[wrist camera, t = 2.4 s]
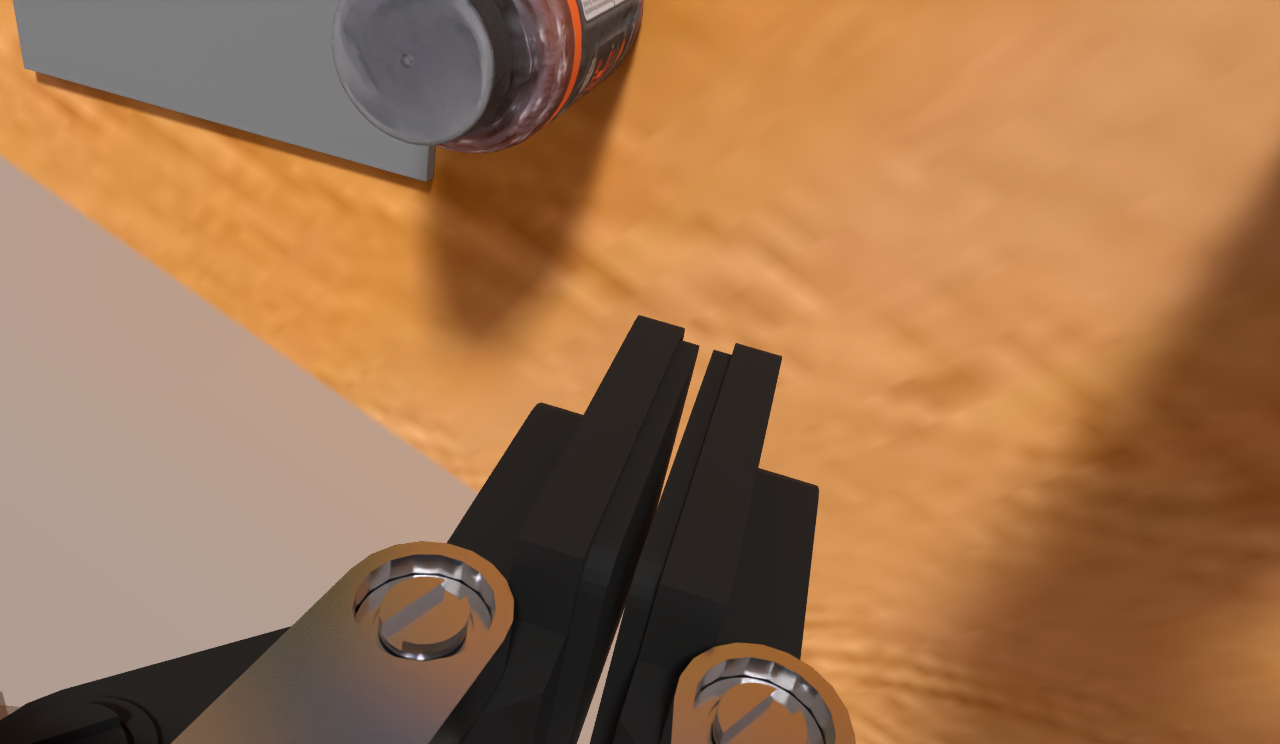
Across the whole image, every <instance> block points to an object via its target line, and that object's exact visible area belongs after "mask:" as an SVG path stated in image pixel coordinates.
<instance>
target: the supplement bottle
mask: <svg viewBox="0 0 1280 744" xmlns="http://www.w3.org/2000/svg"><path fill="white" fill-rule="evenodd" d="M642 13H643V0H340V2H339V5H338V7H337V9H336V12H335V15H334V19H333V28H332V42H331V44H332V52H333V59H334V63H335V67H336V71H337V74H338V77H339V80H340V82H341V84H342V86H343V88H344V90H345V92H346V93H347V95H348V97H349V99H350V100H351V102H352V103H353V104H354V105H355V107H356V108H357V110H358V111H359V112H360V113H361V114H362V115H363V116H364V117H365V118H366V119H367V120H368V121H369V122H370V123H371V124H373V125H374V126H375V127H376V128H377V129H379V130H380V131H382V132H384V133H385V134H387V135H389V136H391V137H392V138H395V139H398V140H400V141H402V142H405V143H408V144H414V145H425V146H431V145H436V146H439V147H442V148H445V149H447V150H452V151H458V152H463V153H488V152H495V151H499V150H502V149H505V148H509V147H511V146H514V145H516V144H518V143H520V142H522V141H525V140H526V139H528V138H529V137H531V136H532V135H534V134H535V133H536V132H538V131H539V130H541V129H542V128H543V127H544V126H546V125H547V124H548V123H550V122H551V121H553V120H554V119H555V118H556V117H557V116H559V115H560V114H561V113H563V112H564V111H565V110H566V109H568V108H569V107H570V106H571V105H572V104H573V103H574V102H576V101H577V100H578V99H579V98H581V97H582V96H584V95H585V94H586V93H588V92H589V91H590V90H591V89H592V88H594V87H595V86H596V85H598V84H599V83H600V82H602V81H604V80H605V79H606V78H607V77H608V76H609V75H610V74H611V73H612V72H613V71H614V70H615V69H616V68H617V67H618V66H619V64H620V63H621V61H622V60H623V59H624V58H625V56H626V55H627V53H628V52H629V50H630V48H631V46H632V44H633V42H634V40H635V38H636V35H637V33H638V30H639V26H640V22H641V17H642Z"/></svg>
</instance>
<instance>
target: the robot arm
mask: <svg viewBox="0 0 1280 744" xmlns="http://www.w3.org/2000/svg"><path fill="white" fill-rule="evenodd" d="M684 332H685V328H682V327H679V326H675V325H672V324H668V323H665V322H661V321H658V320H654V319H651V318H647V317H644V316H640V315H638V317H637V318H636V320H635V322H634V324H633V325H632V327H631V329H630V331H629V333H628V335H627V336H626V338H625V340H624V342H623V344H622V346H621V347H620V349H619V351H618V353H617V355H616V357H615V358H614V360H613V362H612V364H611V366H610V368H609V369H608V371H607V373H606V375H605V377H604V379H603V380H602V382H601V384H600V386H599V388H598V390H597V391H596V393H595V395H594V397H593V399H592V401H591V402H590V404H589V406H588V408H587V410H586V412H585V413H584V415H581V414H578V413H575V412H571V411H568V410H565V409H561V408H558V407H555V406H551V405H548V404H545V403H539V404H537V405H536V406H535V407H534V409H533V410H532V411H531V413H530V414H529V416H528V417H527V419H526V420H525V422H524V423H523V425H522V427H521V428H520V430H519V431H518V433H517V434H516V436H515V438H514V439H513V441H512V442H511V444H510V445H509V447H508V448H507V450H506V452H505V453H504V455H503V456H502V458H501V459H500V461H499V462H498V464H497V466H496V467H495V469H494V470H493V472H492V473H491V475H490V476H489V478H488V480H487V481H486V483H485V484H484V486H483V487H482V489H481V490H480V492H479V494H478V495H477V497H476V498H475V500H474V501H473V503H472V505H471V506H470V508H469V509H468V511H467V512H466V514H465V516H464V517H463V519H462V520H461V522H460V524H459V525H458V527H457V528H456V529H455V531H454V533H453V534H452V536H451V537H450V539H449V540H448V542H447V543H437V542H424V541H421V542H413V543H406V544H398V545H394V546H391V547H389V548H386V549H384V550H381V551H378V552H376V553H373V554H371V555H369V556H368V557H367V558H365V559H364V560H362V561H361V562H360V563H358V564H357V565H356V566H354V567H353V568H351V569H350V570H349V571H348V572H347V573H346V574H345V575H344V576H343V577H342V578H341V579H340V580H339V581H338V582H337V583H336V584H335V585H334V586H333V587H332V588H331V589H330V590H329V591H328V592H327V593H326V594H325V595H323V597H321V598H320V599H319V600H318V601H317V602H316V603H315V604H314V605H313V606H312V607H311V608H310V609H309V610H308V611H307V612H306V613H305V614H304V615H303V616H302V617H301V618H300V619H299V620H298V621H297V622H296V623H295V624H294V625H292V626H291V627H287V628H284V629H280V630H276V631H273V632H269V633H265V634H262V635H258V636H255V637H251V638H248V639H244V640H240V641H237V642H233V643H229V644H226V645H222V646H219V647H215V648H211V649H208V650H205V651H200V652H197V653H193V654H190V655H186V656H182V657H179V658H176V659H172V660H168V661H164V662H161V663H158V664H154V665H150V666H146V667H143V668H139V669H136V670H132V671H128V672H125V673H121V674H118V675H114V676H110V677H107V678H103V679H100V680H96V681H92V682H89V683H85V684H82V685H78V686H74V687H71V688H68V689H64V690H60V691H58V692H55V693H53V694H50V695H48V696H45V697H42V698H40V699H37V700H35V701H32V702H29V703H27V704H25V705H24V706H22V707H14V706H6V705H5V701H4V697H3V694H2V692H0V744H577V741H578V738H579V735H580V732H581V730H582V727H583V724H584V721H585V718H586V716H587V713H588V710H589V707H590V704H591V701H592V699H593V695H594V693H595V690H596V687H597V684H598V681H599V679H600V676H601V673H602V670H603V667H604V665H605V662H606V659H607V656H608V653H609V650H610V648H611V645H612V642H613V639H614V636H615V633H616V630H617V628H618V625H619V622H620V619H621V616H622V614H623V617H622V621H621V625H620V629H619V633H618V637H617V640H616V644H615V648H614V652H613V656H612V660H611V664H610V667H609V671H608V676H607V679H606V683H605V687H604V691H603V695H602V698H601V702H600V706H599V710H598V714H597V718H596V722H595V726H594V729H593V734H592V737H591V741H590V744H856V742H855V734H854V731H853V727H852V724H851V721H850V717H849V714H848V711H847V708H846V707H845V705H844V704H843V702H842V701H841V699H840V698H839V696H838V694H837V693H836V691H835V690H834V688H833V687H832V686H831V685H830V684H829V683H828V682H827V681H826V680H825V679H824V678H823V677H822V676H821V675H820V674H819V673H818V672H817V671H815V670H814V669H813V668H812V667H811V666H809V665H807V664H806V663H804V662H802V661H801V660H800V657H801V648H802V639H803V630H804V622H805V613H806V604H807V595H808V586H809V578H810V569H811V560H812V551H813V542H814V533H815V525H816V516H817V507H818V498H819V488H818V486H816V485H813V484H810V483H806V482H803V481H800V480H797V479H793V478H790V477H787V476H783V475H780V474H777V473H773V472H770V471H767V470H763V469H760V468H758V466H759V462H760V457H761V453H762V448H763V443H764V439H765V434H766V429H767V425H768V420H769V416H770V411H771V406H772V402H773V397H774V393H775V388H776V383H777V379H778V374H779V369H780V365H781V360H782V356H779V355H776V354H772V353H769V352H765V351H762V350H758V349H755V348H751V347H748V346H744V345H741V344H738V343H736V344H735V347H734V350H733V353H732V355H730V354H727V353H723V352H720V351H716V350H714V351H713V353H712V356H711V359H710V362H709V365H708V367H707V370H706V373H705V376H704V379H703V381H702V384H701V387H700V390H699V393H698V395H697V398H696V401H695V404H694V407H693V409H692V412H691V415H690V418H689V421H688V423H687V426H686V429H685V432H684V435H683V437H682V440H681V443H680V446H679V449H678V451H677V454H676V457H675V460H674V463H673V466H672V468H671V471H670V474H669V477H668V480H667V482H666V485H665V488H664V491H663V494H662V496H661V499H660V495H661V491H662V487H663V484H664V480H665V476H666V472H667V468H668V465H669V461H670V457H671V453H672V449H673V446H674V442H675V438H676V434H677V430H678V427H679V423H680V419H681V415H682V411H683V408H684V404H685V400H686V396H687V392H688V389H689V385H690V381H691V377H692V374H693V370H694V366H695V362H696V358H697V354H698V350H699V345H696V344H692V343H689V342H685V341H683V338H684ZM659 499H660V502H659ZM658 503H659V505H658ZM657 506H658V508H657ZM625 605H626V606H625ZM624 608H625V609H624ZM623 611H624V613H623Z"/></svg>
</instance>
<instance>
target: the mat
mask: <svg viewBox="0 0 1280 744" xmlns="http://www.w3.org/2000/svg"><path fill="white" fill-rule="evenodd" d="M339 2H340V0H13V3H14V9H15V15H16V21H17V27H18V33H19V39H20V45H21V51H22V57H23V63H24V68H25V69H28V70H32V71H36V72H39V73H43V74H46V75H50V76H53V77H57V78H60V79H64V80H67V81H71V82H74V83H78V84H82V85H85V86H89V87H92V88H96V89H99V90H103V91H106V92H110V93H113V94H117V95H120V96H124V97H128V98H131V99H135V100H138V101H142V102H145V103H149V104H152V105H156V106H159V107H163V108H166V109H170V110H174V111H177V112H181V113H184V114H188V115H191V116H195V117H198V118H202V119H205V120H209V121H212V122H216V123H220V124H223V125H227V126H230V127H234V128H237V129H241V130H244V131H248V132H251V133H255V134H258V135H262V136H265V137H269V138H273V139H276V140H280V141H283V142H287V143H290V144H294V145H297V146H301V147H304V148H308V149H311V150H315V151H319V152H322V153H326V154H329V155H333V156H336V157H340V158H343V159H347V160H350V161H354V162H357V163H361V164H365V165H368V166H372V167H375V168H379V169H382V170H386V171H389V172H393V173H396V174H400V175H403V176H407V177H411V178H414V179H418V180H421V181H425V182H427V181H428V180H430V179H431V178H433V174H434V160H435V146H436V145H431V146H425V145H414V144H408V143H405V142H402V141H400V140H398V139H395V138H392V137H391V136H389V135H387V134H385V133H384V132H382V131H380V130H379V129H377V128H376V127H375V126H374V125H373V124H371V123H370V122H369V121H368V120H367V119H366V118H365V117H364V116H363V115H362V114H361V113H360V112H359V111H358V110H357V108H356V107H355V105H354V104H353V103H352V102H351V100H350V99H349V97H348V95H347V93H346V92H345V90H344V88H343V86H342V84H341V82H340V80H339V77H338V74H337V71H336V67H335V63H334V59H333V52H332V44H331V42H332V28H333V19H334V15H335V12H336V9H337V7H338V5H339Z"/></svg>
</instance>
